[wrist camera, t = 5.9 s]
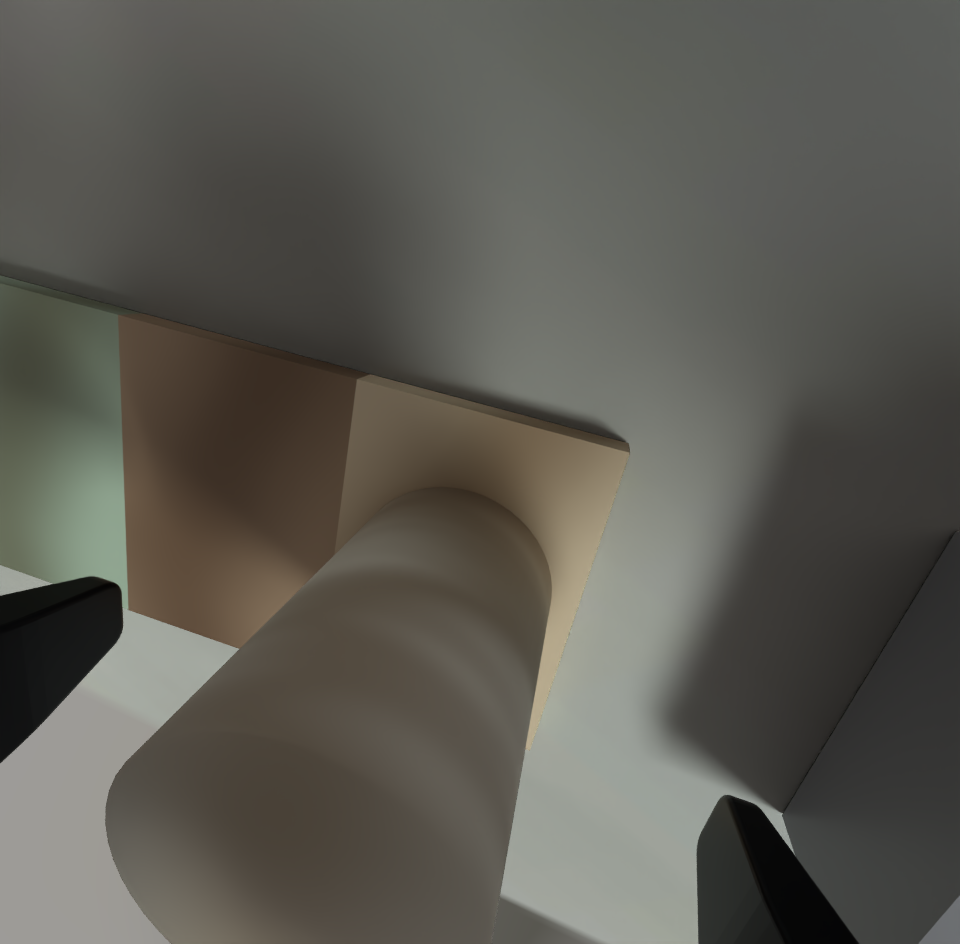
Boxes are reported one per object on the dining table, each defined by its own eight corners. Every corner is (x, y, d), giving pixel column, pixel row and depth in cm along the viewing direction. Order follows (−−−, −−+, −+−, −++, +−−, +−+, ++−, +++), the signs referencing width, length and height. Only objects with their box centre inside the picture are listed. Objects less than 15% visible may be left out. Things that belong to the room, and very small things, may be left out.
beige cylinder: (576, 522, 10) (537, 835, 4) (523, 690, 11) (443, 1087, 6) (371, 462, 10) (95, 671, 5) (346, 630, 12) (113, 941, 6)
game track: (628, 443, 10) (630, 452, 9) (532, 729, 12) (529, 750, 12) (-60, 259, 12) (-93, 258, 11) (-19, 539, 14) (-44, 549, 14)
